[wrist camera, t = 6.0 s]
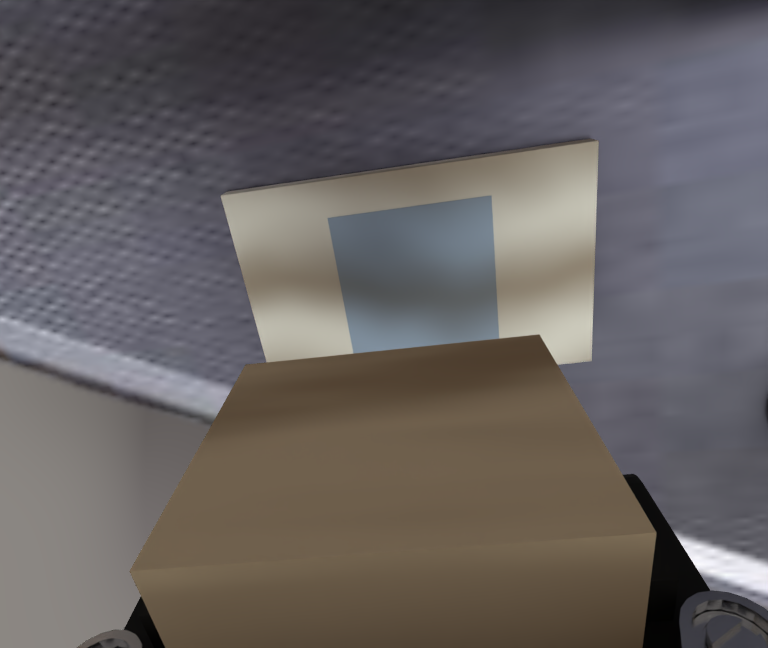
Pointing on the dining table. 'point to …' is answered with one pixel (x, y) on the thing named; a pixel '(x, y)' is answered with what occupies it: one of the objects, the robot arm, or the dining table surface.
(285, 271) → the board
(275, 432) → the oak block
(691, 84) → the dining table surface
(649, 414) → the dining table surface
